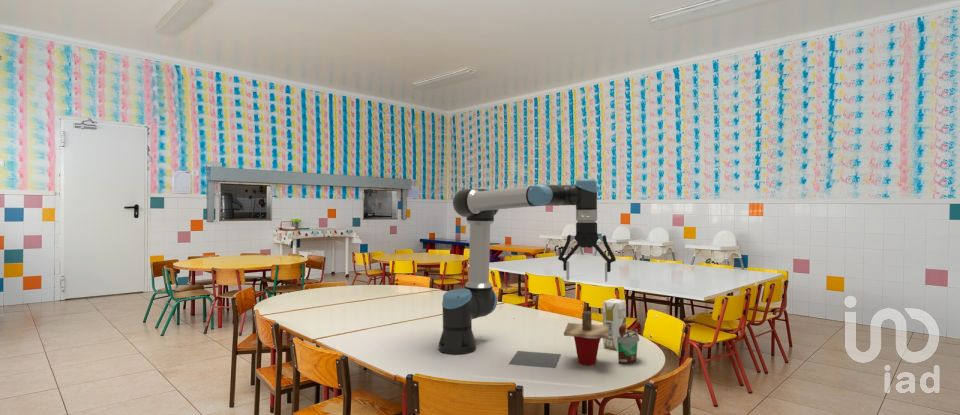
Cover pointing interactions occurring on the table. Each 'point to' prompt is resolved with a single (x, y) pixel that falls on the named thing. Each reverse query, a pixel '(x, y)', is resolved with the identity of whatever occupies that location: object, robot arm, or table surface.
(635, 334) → the food container
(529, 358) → the mat
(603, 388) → the table surface
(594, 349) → the plastic cup
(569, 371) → the table surface
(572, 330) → the lid
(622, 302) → the juice carton
